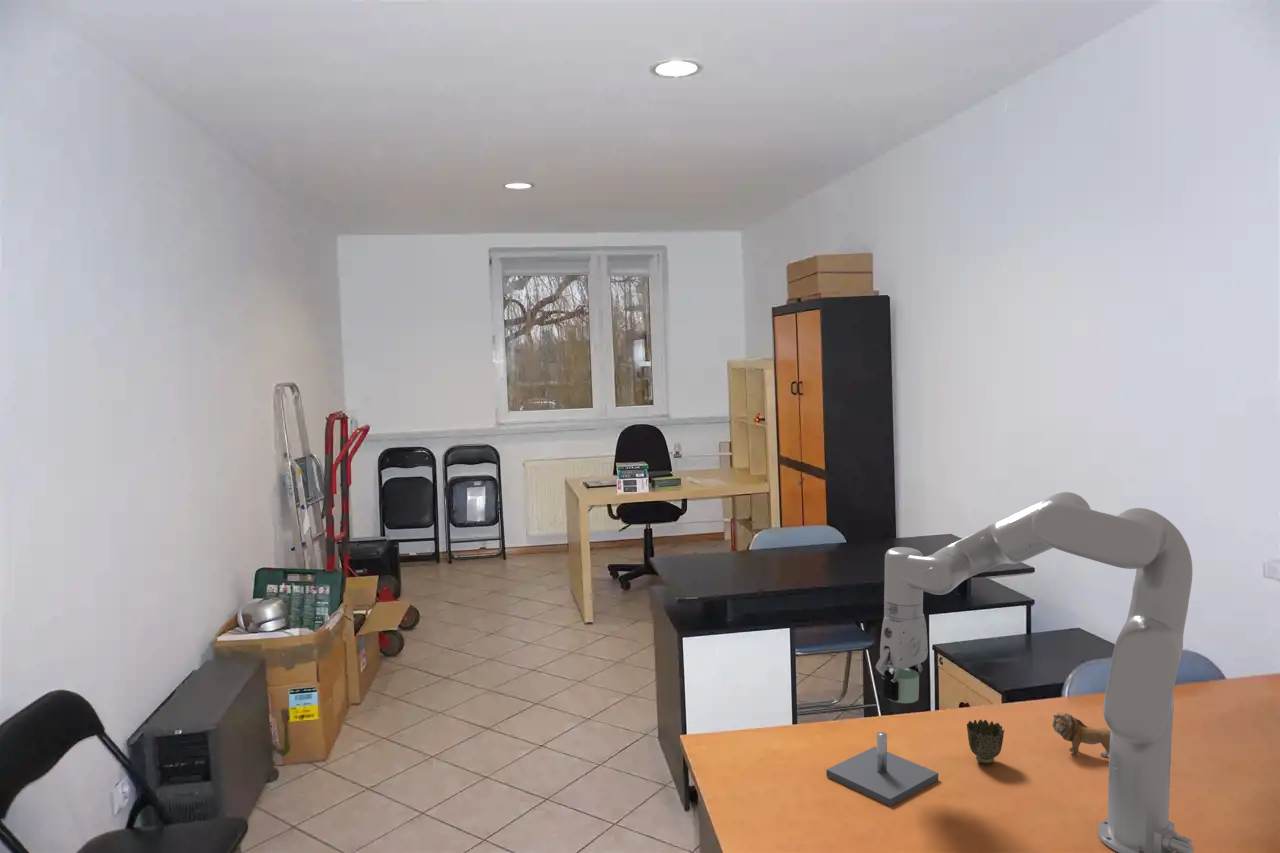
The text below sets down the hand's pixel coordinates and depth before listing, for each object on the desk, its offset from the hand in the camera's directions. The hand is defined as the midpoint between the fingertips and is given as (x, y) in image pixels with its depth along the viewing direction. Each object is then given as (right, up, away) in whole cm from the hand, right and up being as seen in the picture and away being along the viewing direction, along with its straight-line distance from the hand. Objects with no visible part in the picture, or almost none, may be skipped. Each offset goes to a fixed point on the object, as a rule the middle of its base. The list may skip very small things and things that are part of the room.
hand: (901, 693), depth 184 cm
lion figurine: (+43, -17, +9) cm, 47 cm away
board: (-3, -18, +3) cm, 19 cm away
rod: (-3, -17, +2) cm, 17 cm away
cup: (+20, -17, +8) cm, 28 cm away
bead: (0, -1, 0) cm, 1 cm away
